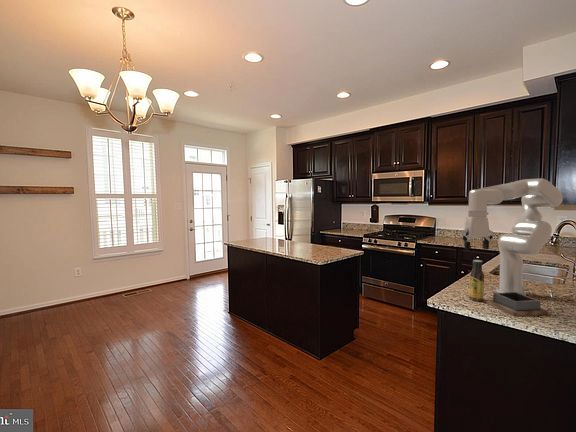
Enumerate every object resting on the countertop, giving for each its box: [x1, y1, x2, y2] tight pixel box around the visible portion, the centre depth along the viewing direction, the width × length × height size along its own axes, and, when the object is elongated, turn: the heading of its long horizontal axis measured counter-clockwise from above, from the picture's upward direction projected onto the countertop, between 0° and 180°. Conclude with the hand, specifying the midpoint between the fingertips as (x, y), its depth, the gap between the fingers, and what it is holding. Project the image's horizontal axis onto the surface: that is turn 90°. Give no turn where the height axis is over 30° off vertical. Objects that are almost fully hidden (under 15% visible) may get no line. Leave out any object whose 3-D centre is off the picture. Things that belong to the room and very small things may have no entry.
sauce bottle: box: [468, 259, 485, 302], centre depth 142 cm, size 7×6×20 cm
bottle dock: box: [486, 292, 549, 317], centre depth 130 cm, size 16×15×6 cm
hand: (476, 249), depth 141 cm, fingers open, 9 cm apart
